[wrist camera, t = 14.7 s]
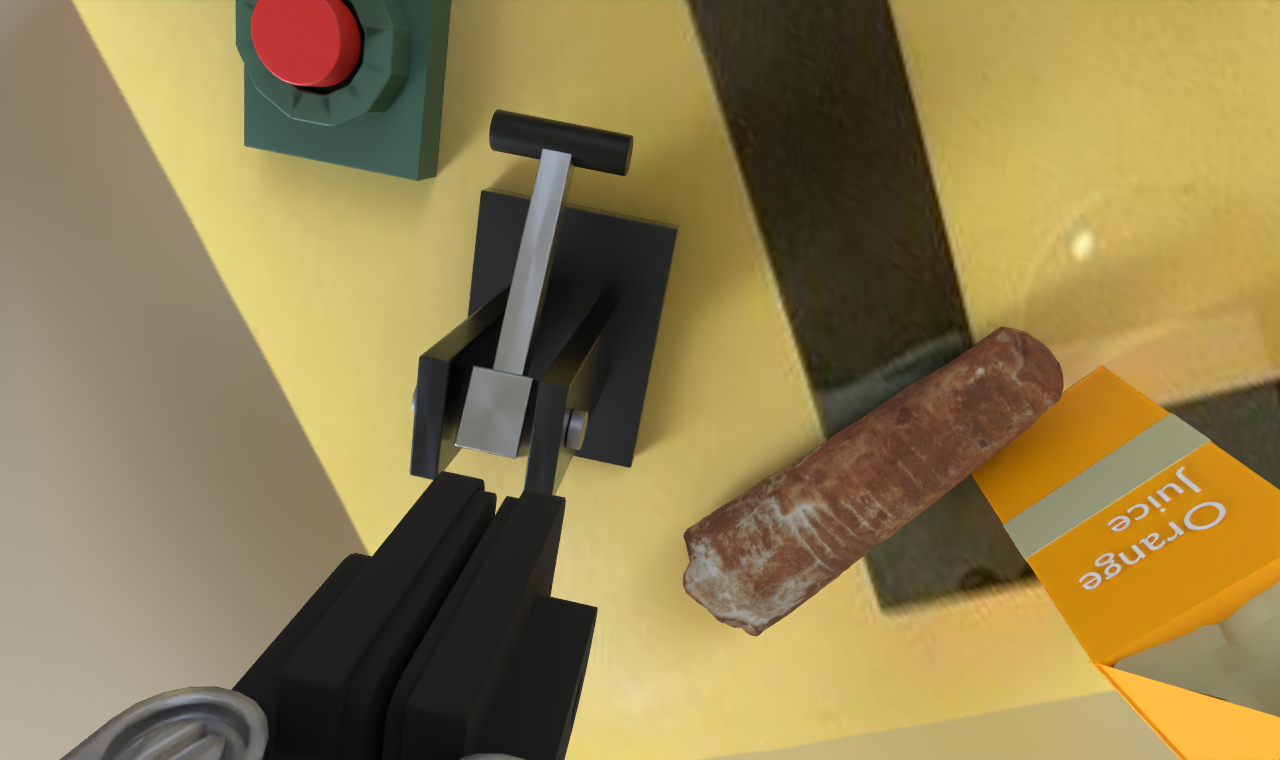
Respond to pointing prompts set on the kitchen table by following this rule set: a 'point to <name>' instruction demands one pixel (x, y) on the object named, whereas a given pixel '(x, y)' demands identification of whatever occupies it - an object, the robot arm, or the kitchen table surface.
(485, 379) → the lever
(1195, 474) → the orange juice
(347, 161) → the button box
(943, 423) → the salami
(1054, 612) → the kitchen table surface
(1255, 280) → the kitchen table surface
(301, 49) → the button
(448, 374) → the bracket
